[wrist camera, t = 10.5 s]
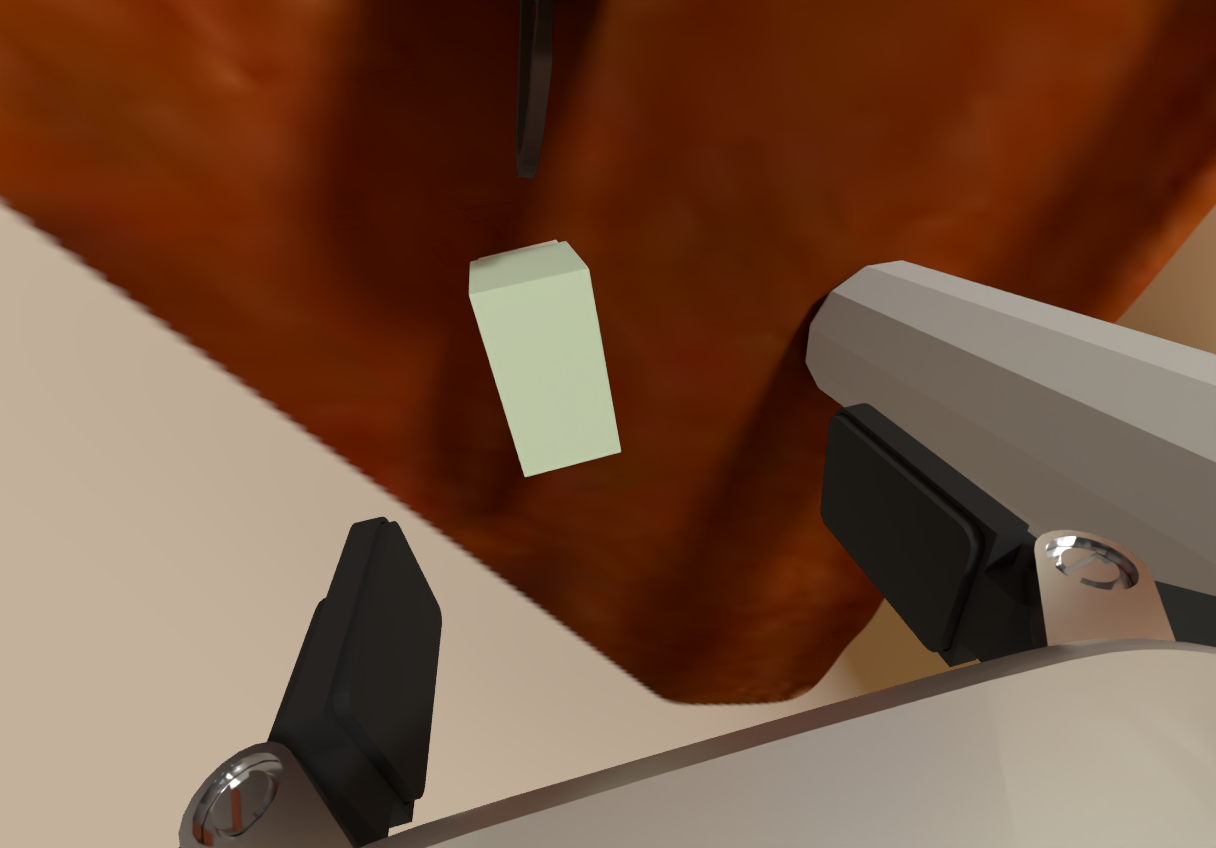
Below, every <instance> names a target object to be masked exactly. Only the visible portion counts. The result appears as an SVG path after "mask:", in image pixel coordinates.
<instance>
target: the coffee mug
mask: <svg viewBox="0 0 1216 848" xmlns="http://www.w3.org/2000/svg"><path fill="white" fill-rule="evenodd" d="M553 1H559V0H520V18H519V48H518V77H517V110H516V170H517V175H518V177H524V178H530V179H533V177H534V175H535V174H536V171H537V168H538V163H539V157H540V152H541V146H542V140H543V133H544V126H545V118H546V111H547V103H548V94H549V87H550V79H551V70H552V55H553V49H552V25H553ZM534 2H536V19H535V25H534V38H533V9H534ZM532 40H533V46H532Z"/></svg>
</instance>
